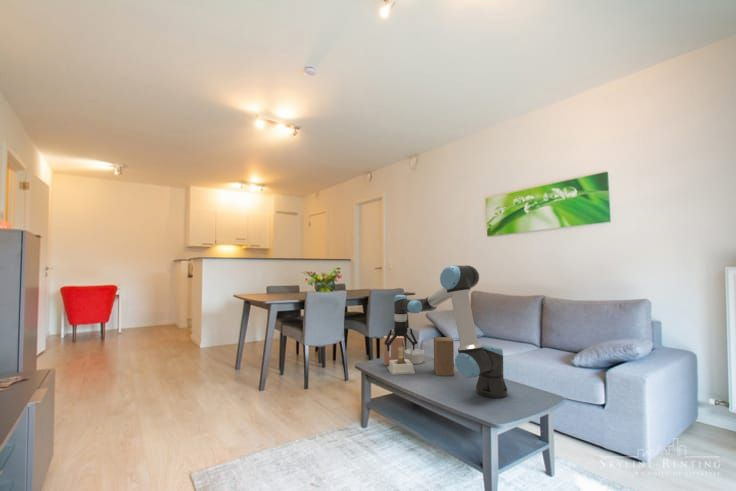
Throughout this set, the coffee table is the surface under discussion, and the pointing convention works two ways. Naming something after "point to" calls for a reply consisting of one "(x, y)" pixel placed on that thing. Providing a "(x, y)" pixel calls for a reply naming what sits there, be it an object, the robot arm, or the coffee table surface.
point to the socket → (400, 367)
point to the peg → (400, 354)
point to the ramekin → (414, 356)
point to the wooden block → (443, 356)
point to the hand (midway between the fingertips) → (400, 356)
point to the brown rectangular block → (392, 349)
